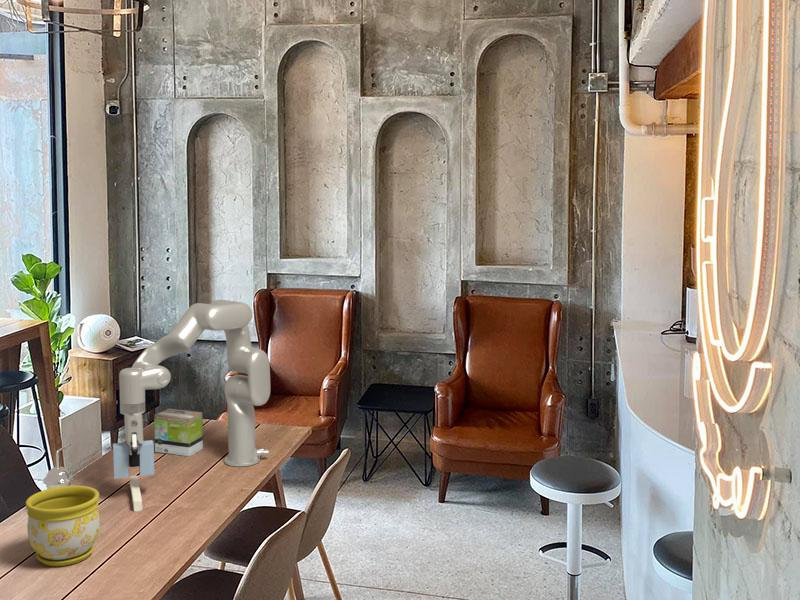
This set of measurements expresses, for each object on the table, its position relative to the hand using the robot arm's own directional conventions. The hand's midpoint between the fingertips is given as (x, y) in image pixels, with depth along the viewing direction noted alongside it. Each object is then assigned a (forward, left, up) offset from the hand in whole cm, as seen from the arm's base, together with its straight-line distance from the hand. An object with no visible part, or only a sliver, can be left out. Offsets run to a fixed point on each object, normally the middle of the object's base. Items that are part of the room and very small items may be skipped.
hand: (134, 463), depth 260 cm
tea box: (-18, -44, -12) cm, 49 cm away
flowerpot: (+20, +38, -12) cm, 44 cm away
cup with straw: (+22, +4, -11) cm, 25 cm away
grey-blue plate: (0, 0, -4) cm, 4 cm away
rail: (0, 0, -11) cm, 11 cm away
